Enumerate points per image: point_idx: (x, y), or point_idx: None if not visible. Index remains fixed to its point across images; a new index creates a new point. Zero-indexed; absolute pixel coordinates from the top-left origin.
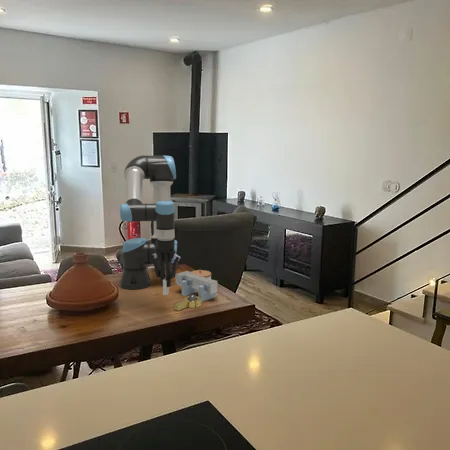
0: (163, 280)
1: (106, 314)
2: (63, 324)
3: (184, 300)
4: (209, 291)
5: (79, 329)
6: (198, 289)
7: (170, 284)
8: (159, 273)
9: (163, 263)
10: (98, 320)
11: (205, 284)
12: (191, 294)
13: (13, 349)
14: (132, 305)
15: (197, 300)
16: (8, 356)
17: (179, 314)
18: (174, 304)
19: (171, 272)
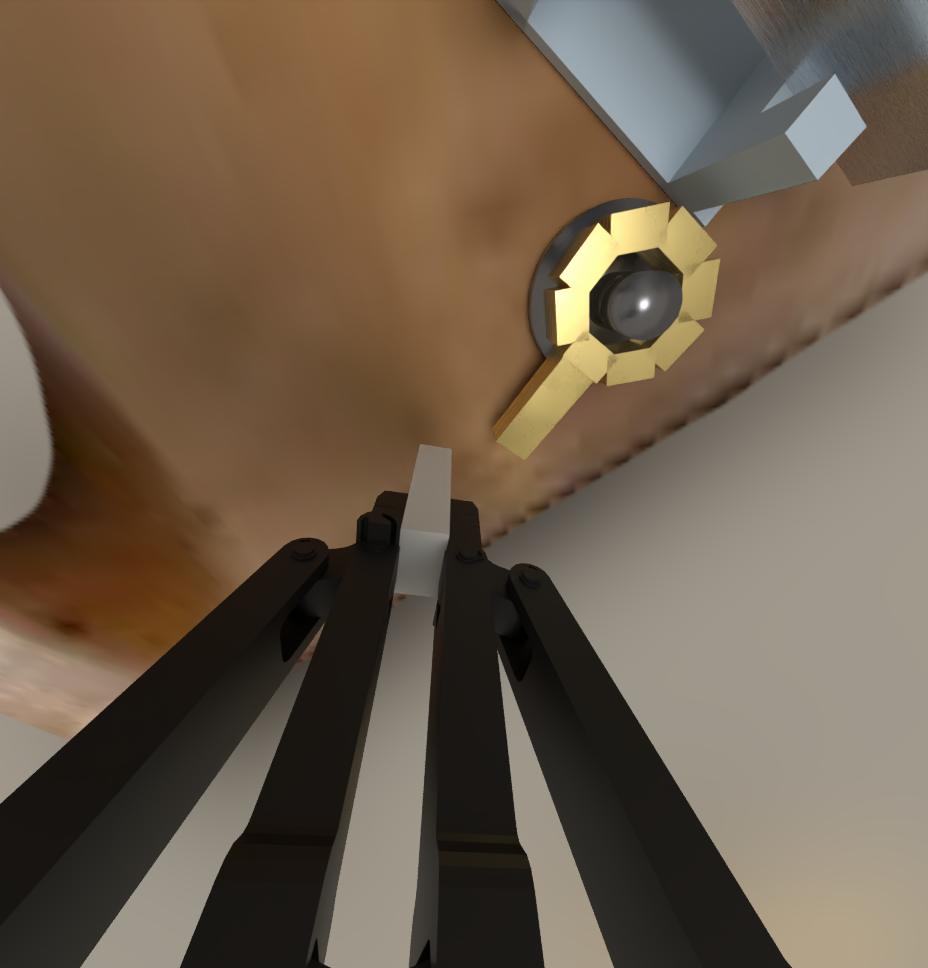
0: (403, 588)
1: (123, 499)
2: (47, 614)
3: (567, 358)
4: (871, 166)
5: (155, 637)
6: (753, 148)
7: (476, 520)
8: (292, 580)
9: (336, 876)
10: (151, 564)
11: (923, 77)
12: (643, 277)
13: None
14: (155, 331)
15: (676, 338)
16: None
17: None
18: (499, 442)
19: (521, 702)
